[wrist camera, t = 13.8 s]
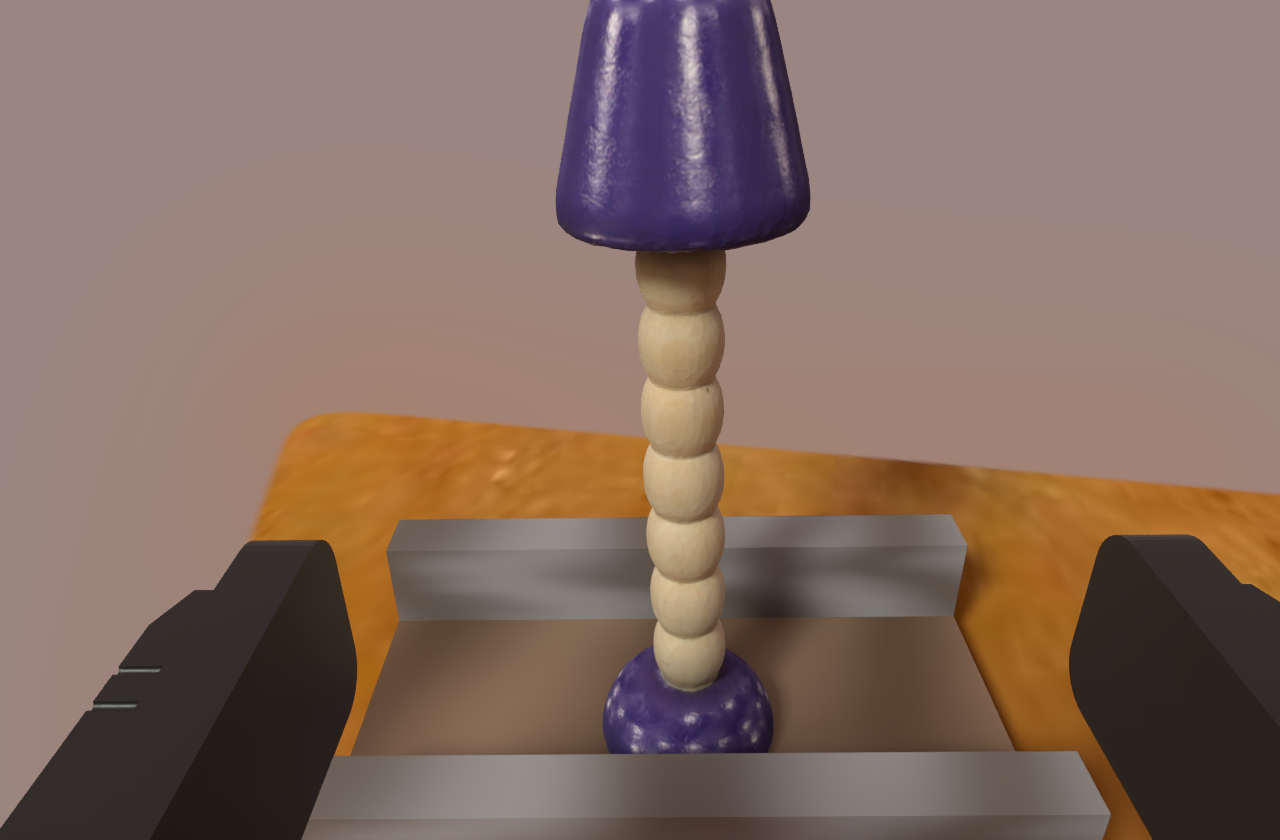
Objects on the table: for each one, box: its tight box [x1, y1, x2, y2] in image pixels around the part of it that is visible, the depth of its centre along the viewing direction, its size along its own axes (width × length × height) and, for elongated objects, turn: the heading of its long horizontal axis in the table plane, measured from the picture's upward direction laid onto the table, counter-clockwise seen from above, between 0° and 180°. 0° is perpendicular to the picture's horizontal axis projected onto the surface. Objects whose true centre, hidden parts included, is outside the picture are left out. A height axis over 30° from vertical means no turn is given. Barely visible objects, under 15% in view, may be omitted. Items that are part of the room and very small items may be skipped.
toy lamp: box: [556, 0, 810, 754], centre depth 18 cm, size 5×5×17 cm
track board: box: [301, 514, 1111, 840], centre depth 22 cm, size 16×12×4 cm
